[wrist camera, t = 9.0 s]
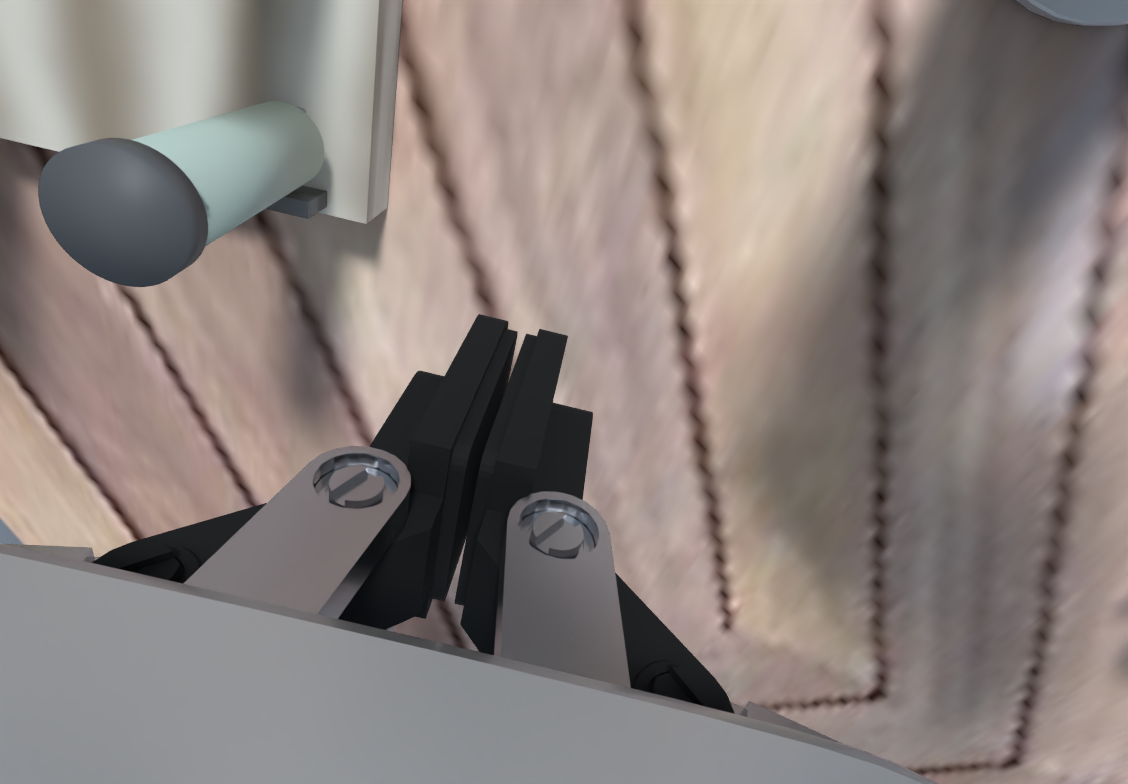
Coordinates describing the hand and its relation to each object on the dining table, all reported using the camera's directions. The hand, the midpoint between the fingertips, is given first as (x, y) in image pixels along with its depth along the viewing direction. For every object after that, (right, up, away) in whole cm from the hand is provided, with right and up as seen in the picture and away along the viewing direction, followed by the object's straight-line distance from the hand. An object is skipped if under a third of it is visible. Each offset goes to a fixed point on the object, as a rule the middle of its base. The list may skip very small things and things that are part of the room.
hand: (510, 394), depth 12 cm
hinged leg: (-10, +10, +14) cm, 20 cm away
